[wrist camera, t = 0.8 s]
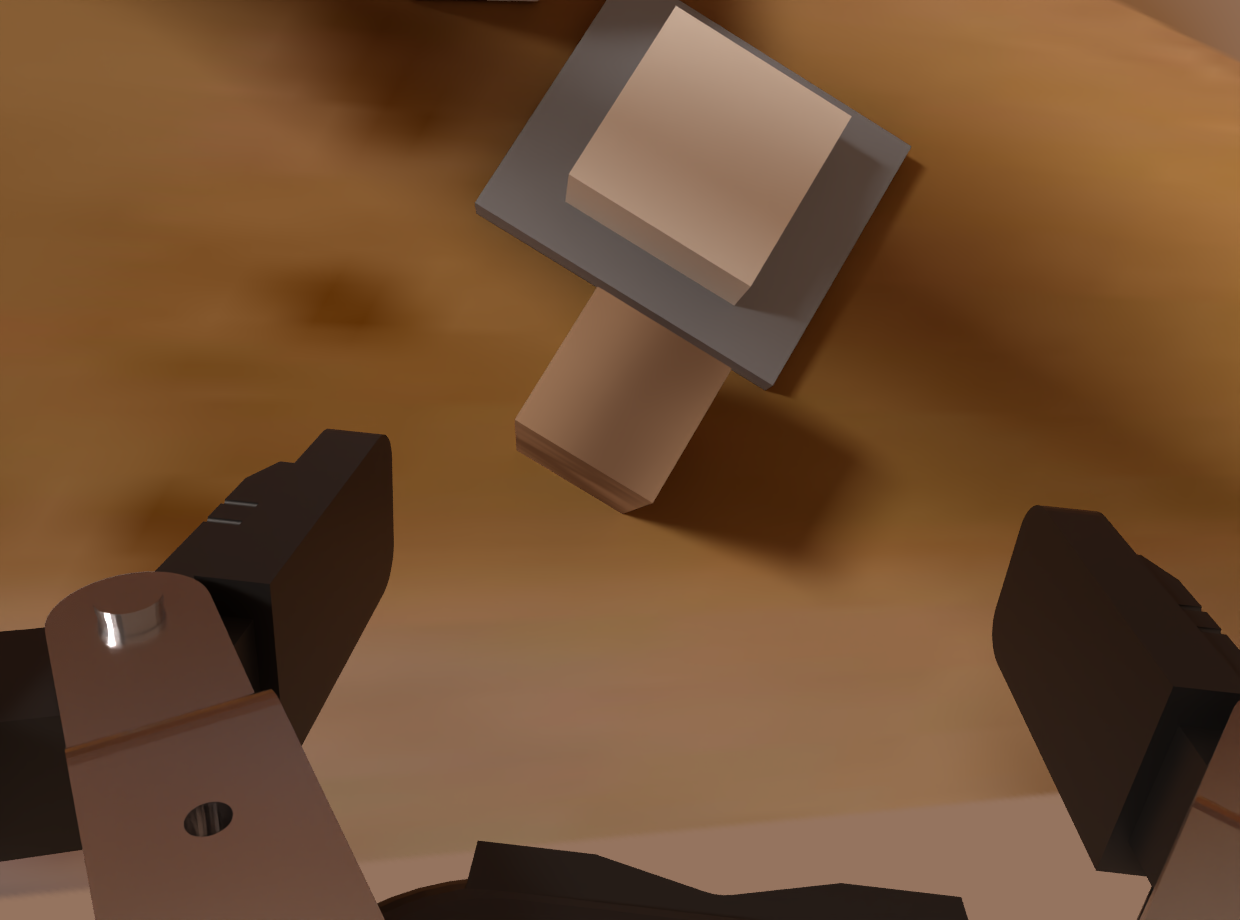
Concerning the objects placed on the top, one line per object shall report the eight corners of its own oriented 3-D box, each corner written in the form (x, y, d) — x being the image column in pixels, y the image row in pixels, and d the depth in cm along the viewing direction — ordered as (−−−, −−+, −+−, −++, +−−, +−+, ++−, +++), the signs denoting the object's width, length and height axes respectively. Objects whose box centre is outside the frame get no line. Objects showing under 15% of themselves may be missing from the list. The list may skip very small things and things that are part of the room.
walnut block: (516, 450, 38) (514, 419, 29) (580, 346, 39) (597, 286, 30) (622, 513, 38) (652, 503, 29) (683, 409, 39) (732, 368, 30)
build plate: (476, 213, 39) (471, 174, 35) (624, -15, 40) (635, -77, 36) (765, 390, 39) (792, 372, 35) (900, 158, 41) (940, 116, 37)
